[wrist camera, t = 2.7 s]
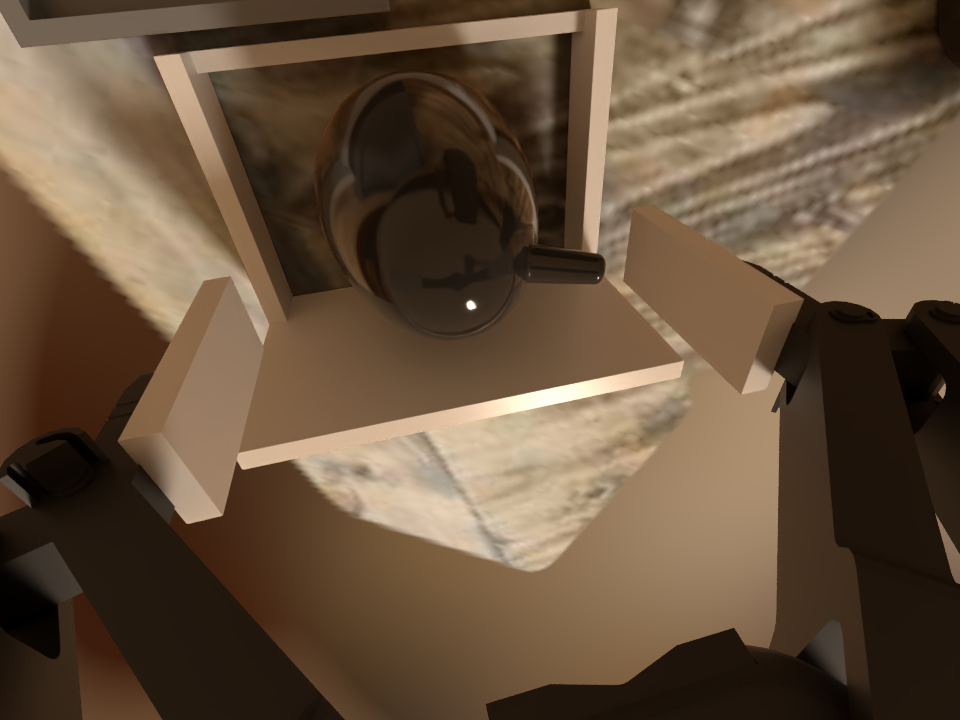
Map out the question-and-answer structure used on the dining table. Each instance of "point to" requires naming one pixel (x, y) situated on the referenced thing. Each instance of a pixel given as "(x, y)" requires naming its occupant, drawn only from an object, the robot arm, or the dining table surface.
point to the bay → (378, 342)
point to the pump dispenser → (435, 207)
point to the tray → (158, 16)
